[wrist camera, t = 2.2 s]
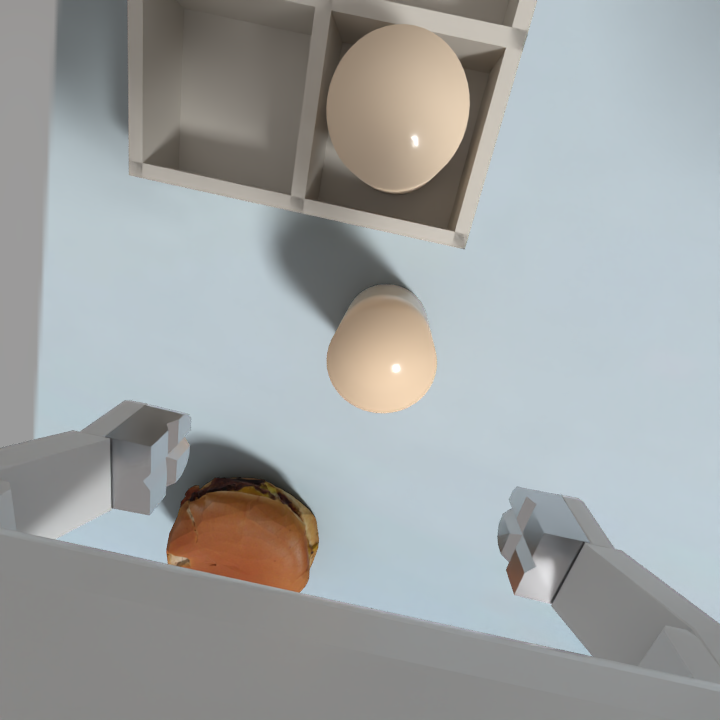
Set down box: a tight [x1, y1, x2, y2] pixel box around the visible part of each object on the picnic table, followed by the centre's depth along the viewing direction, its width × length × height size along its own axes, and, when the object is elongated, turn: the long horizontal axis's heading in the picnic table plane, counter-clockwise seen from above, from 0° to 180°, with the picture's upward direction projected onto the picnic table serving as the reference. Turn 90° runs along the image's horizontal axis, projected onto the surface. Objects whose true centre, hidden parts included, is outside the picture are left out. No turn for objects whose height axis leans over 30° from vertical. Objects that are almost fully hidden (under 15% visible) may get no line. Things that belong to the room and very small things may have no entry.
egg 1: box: [326, 24, 470, 195], centre depth 16 cm, size 5×5×6 cm
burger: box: [166, 477, 319, 593], centre depth 26 cm, size 10×9×5 cm
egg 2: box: [327, 284, 437, 413], centre depth 20 cm, size 5×5×6 cm
